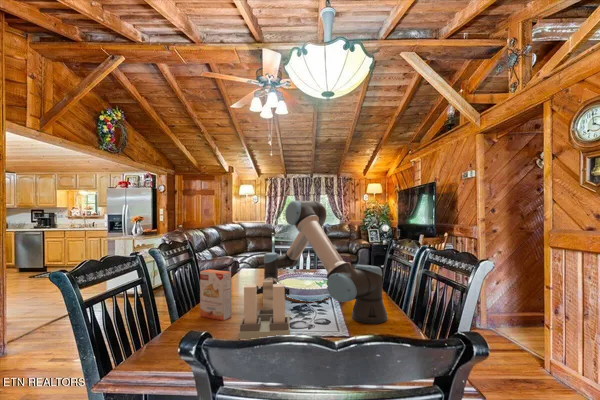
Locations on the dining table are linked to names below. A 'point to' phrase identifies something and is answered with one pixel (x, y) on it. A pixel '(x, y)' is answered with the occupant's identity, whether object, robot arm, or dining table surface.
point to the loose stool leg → (268, 294)
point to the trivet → (300, 301)
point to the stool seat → (264, 315)
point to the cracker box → (215, 294)
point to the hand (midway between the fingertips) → (267, 296)
